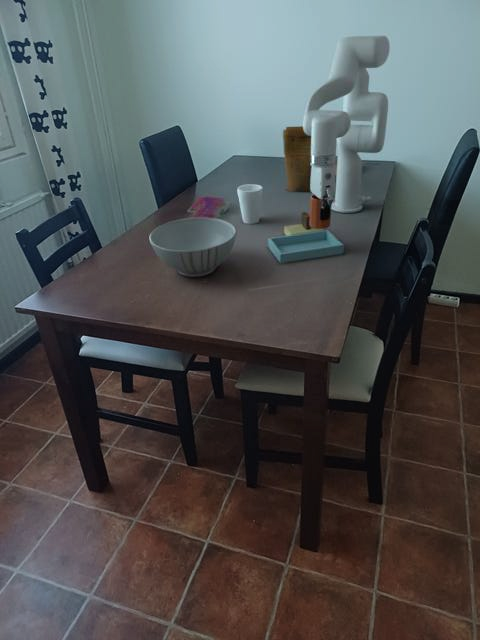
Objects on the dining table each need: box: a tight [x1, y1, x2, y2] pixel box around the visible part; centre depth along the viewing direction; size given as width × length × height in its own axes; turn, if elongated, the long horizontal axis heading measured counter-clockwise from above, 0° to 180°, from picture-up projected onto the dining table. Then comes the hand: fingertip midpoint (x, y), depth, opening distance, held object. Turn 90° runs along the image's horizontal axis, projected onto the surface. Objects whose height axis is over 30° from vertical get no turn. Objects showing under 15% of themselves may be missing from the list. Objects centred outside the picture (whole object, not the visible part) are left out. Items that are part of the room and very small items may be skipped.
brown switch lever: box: [300, 211, 311, 230], centre depth 168 cm, size 5×2×5 cm, turn 14°
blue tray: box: [267, 229, 345, 264], centre depth 159 cm, size 22×14×3 cm, turn 103°
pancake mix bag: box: [282, 125, 312, 193], centre depth 205 cm, size 7×19×28 cm, turn 75°
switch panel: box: [283, 223, 325, 236], centre depth 170 cm, size 12×9×3 cm
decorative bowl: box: [148, 216, 238, 278], centre depth 149 cm, size 27×27×12 cm
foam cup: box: [236, 183, 264, 225], centre depth 182 cm, size 10×9×13 cm
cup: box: [309, 194, 332, 229], centre depth 153 cm, size 7×7×10 cm
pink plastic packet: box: [187, 196, 232, 219], centre depth 191 cm, size 30×15×5 cm, turn 167°
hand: (320, 215), depth 154 cm, fingers closed on cup, 6 cm apart
